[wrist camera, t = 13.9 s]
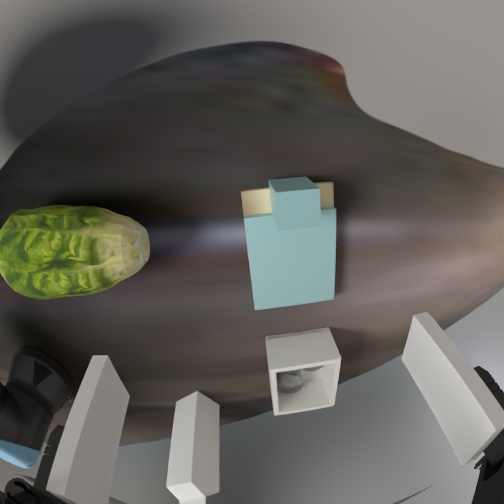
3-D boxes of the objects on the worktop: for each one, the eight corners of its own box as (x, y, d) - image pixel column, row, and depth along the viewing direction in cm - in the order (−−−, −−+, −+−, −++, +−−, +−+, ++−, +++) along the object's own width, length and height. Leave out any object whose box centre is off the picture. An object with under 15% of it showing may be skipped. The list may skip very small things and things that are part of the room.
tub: (269, 384, 50) (274, 415, 44) (264, 336, 45) (269, 369, 38) (324, 376, 50) (333, 405, 44) (328, 326, 45) (341, 358, 38)
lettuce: (165, 267, 39) (145, 320, 29) (43, 272, 38) (6, 314, 28) (153, 182, 34) (121, 211, 24) (24, 201, 33) (-25, 231, 23)
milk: (176, 400, 51) (163, 503, 31) (197, 389, 50) (189, 499, 30) (198, 414, 53) (192, 512, 33) (220, 404, 52) (219, 508, 32)
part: (275, 380, 48) (277, 394, 46) (278, 365, 47) (280, 379, 44) (298, 379, 49) (301, 392, 46) (301, 364, 47) (305, 377, 44)
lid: (254, 305, 41) (257, 334, 36) (239, 183, 34) (241, 196, 28) (331, 295, 41) (344, 321, 36) (332, 174, 34) (351, 186, 28)
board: (253, 297, 41) (253, 300, 41) (240, 190, 35) (241, 191, 34) (330, 286, 42) (332, 289, 41) (331, 181, 35) (333, 183, 34)
